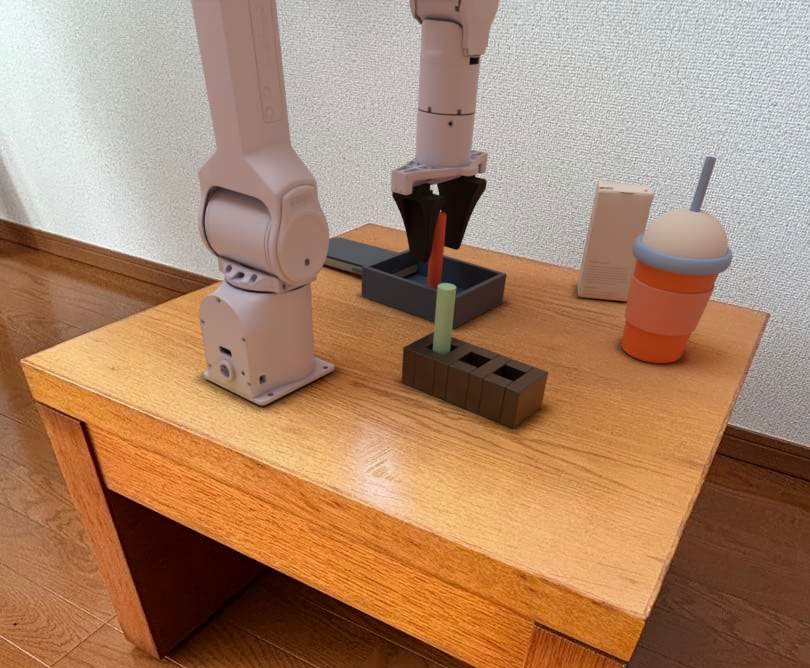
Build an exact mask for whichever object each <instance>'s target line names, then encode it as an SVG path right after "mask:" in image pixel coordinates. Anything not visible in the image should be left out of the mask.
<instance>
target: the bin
mask: <svg viewBox="0 0 810 668" xmlns="http://www.w3.org/2000/svg"><path fill="white" fill-rule="evenodd" d="M413 262H416V263H417V271H416V272H415V273H412V274H410V275H408V276H405V277H403V278H402V277H399V276H395V275H392V274H389V273H390V272H391V271H394V270H396V269H398V268H401V267H403V266H406V265H408V264H411V263H413ZM428 263H429V261H428V262H421V261H418V260H415V259H411V256H410V250H409V248H408V249H405V250H403V251H400V252H399V253H397V254H394V255H392V256H389V257H386V258H384V259H381V260H378V261H376V262H373V263H370V264H368V265H365V266H362V275H361V297H363V298H366V299H368V300H371V301H374V302H377V303H379V304H383V305H385V306H388V307H392V308H394V309H397V310H400V311H402V312H405V313H408V314H411V315H414V316H416V317H419V318H422V319H424V320H428V321H430V322H434V323H435V313H436V300H437V289H435V288H432V287H429V286H427V278H428ZM506 280H507V273H506V272H502V271H498V270H496V269H492V268H489V267H486V266H482V265H478V264H475V263H471V262H470V261H469V262H468V261H465V260H462V259H459V258H455V257H452V256H448V255H446V254H443V264H442V276H441V284H442V283H450V284H453V285H455V286H456V295H455V305H454V316H453V326H452V330H454V329H456V328H458V327H460V326H463V324H466V323H467V322H469V321H471V320H473V319H475V318H477V317H479V316H480V315H482V314H484V313H487V312H489V311H490V310H492V309H494V308H496V307H497V306H499V305H501V304H503V302H504V294H505V289H506Z"/></svg>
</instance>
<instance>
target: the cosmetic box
mask: <svg viewBox="0 0 810 668" xmlns="http://www.w3.org/2000/svg"><path fill="white" fill-rule="evenodd" d="M652 189H653V188H651V186H650V185H647V184H635V183H622V182H610V181H600V180H599V181H597V182H596V187H595V192H594V197H593V202H592V208H591V213H590V218H589V222H588V228H587V233H586V238H585V242H584V248H583V253H582V257H581V264H580V268H579V272H578V273H579V274H578V278H577V284H576V285H577V297H579V298H585V299H596V300H605V301H606V300H607V301H614V302H615V301H617V302H627V300H628V294H629V289H630V283H631V277H632V273H633V271H634V270H635V266H636V261H637V259H636V258H635V257H634V255H633V252H632V248H633V244H634V242H635V240H636V239H637V237H638V236H640V235H641V234H644V233H645V232H646V229H647V224H648V219H649V215H650V211H651V208H652V204H653V200H654V196H655V194H654V191H653V190H652Z"/></svg>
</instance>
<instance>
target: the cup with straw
mask: <svg viewBox="0 0 810 668" xmlns="http://www.w3.org/2000/svg"><path fill="white" fill-rule="evenodd" d="M703 162H704V163H703V165H702V168H701V171H700V176H699V179H698V181H697V185H696V188H695V192H694V195H693V197H692V201H691V204H690V208H689V207H688V208H687V207H686V208H677V209H674V210H671V211H668V212H666V213H664V214H662V215H660V216H659V217H658V218H656V219H655V220H654V221H653V222H652V223H651V224H650V225H649V226H648V227H647V228H646V229H645V232H644V234H641V235H640V236H638V237H637V239H636V240H635V242H634V244H633V248H632V252H633V255H634V257H635V258H636V259H637V261H636V266H635V270H634V271H633V273H632V277H631V283H630V289H629V294H628V298H627V301H626V306H625V312H624V318H625V322H624V327H623V333H622V338H621V348H622V350H623V352H625V353H626V354H627V355H628V356H630V357H632V358H634V359H636V360H640V361H642V362H646V363H652V364H669V363H670V364H671V363H674V362H677V361H678V360H679V359H680V358H681V357H682V355H683V354H684V351H685V348H686V347H687V344H688V342H689V340H690V338H691V335H692V334H693V333H694V332H695V331H696V329H697V327H698V324H699V323H700V320H701V319H702V316H703V314H704V312H705V310H706V308H707V306H708V304H709V302H710V299H711V297H712V295H713V292H714V290H715V287H716V286H715V283H716V281H717V279H718V277H719V274H721V273H723V272H725V271H727V270H728V269H729V268H730V266H731V264H732V261H733V251H732V249H730V247H729V243H728V241H729V240H728V235H727V232H726V229H725V227H724V225H723V224H722V223H721V221H720V220H719V219H718V218H717V217H716V216H714V215H713V214H711V213H710V212H707V211H706V210H702V205H703V202H704V200H705V195H706V193H707V190H708V187H709V184H710V180H711V177H712V174H713V171H714V167H715V164H716V162H717V157H716V156H706V157H705V160H704V161H703Z"/></svg>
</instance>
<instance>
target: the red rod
mask: <svg viewBox="0 0 810 668" xmlns="http://www.w3.org/2000/svg"><path fill="white" fill-rule="evenodd" d="M446 216H447V215H446V213H444V212H441V211H440V213H439V216H438V219H437V223H436V227H435V232H434V238H433V246H432V252H431V256H430V259H429V263H428V278H427V286H429V287H432V288H435V289H437V287H438V285H439V284H441V276H442V264H443V255H444V252H445V247H444V240H445V228H446Z"/></svg>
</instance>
